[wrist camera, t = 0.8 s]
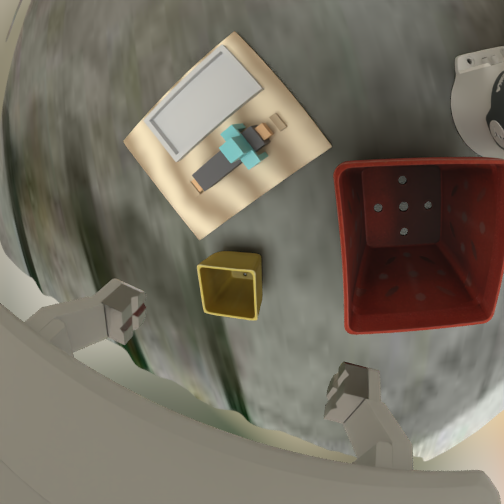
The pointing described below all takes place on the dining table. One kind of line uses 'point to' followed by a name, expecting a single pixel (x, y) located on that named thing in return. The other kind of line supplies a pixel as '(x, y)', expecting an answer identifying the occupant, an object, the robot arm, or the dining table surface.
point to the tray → (202, 102)
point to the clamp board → (252, 113)
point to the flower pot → (231, 284)
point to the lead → (221, 165)
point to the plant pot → (420, 242)
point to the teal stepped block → (239, 147)
